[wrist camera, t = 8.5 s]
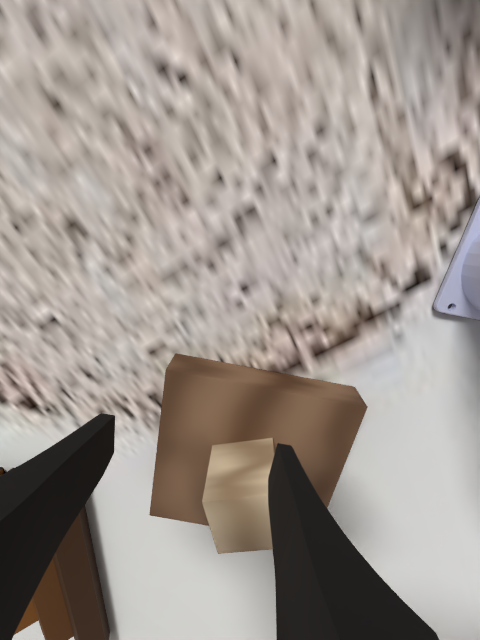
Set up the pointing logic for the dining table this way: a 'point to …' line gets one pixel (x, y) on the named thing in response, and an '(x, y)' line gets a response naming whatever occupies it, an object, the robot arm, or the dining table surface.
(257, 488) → the maple block
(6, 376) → the dining table surface
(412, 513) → the dining table surface
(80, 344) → the dining table surface
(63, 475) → the robot arm
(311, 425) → the walnut base
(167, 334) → the dining table surface
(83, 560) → the pan flute
